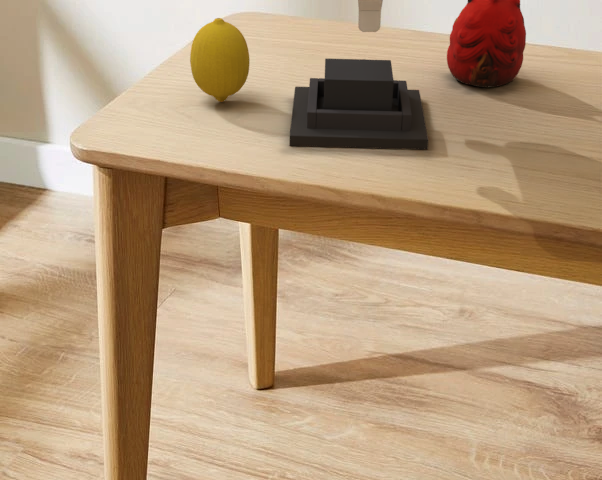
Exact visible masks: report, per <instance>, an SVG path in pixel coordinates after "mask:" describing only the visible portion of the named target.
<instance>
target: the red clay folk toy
mask: <svg viewBox="0 0 602 480" xmlns="http://www.w3.org/2000/svg"><path fill="white" fill-rule="evenodd" d="M526 41H527V30H526V26H525V18H524V15H523V12H522V9H521V0H467V3H466V5H465V6H464V7H463V8H462V9H461V11H460V13H459V14H458V16H457V17H456V18H455V19H454V22H453V24H452V30H451V31H450V34H449V45H448V47H447V51H446V63H447V67H448V68H447V69H448V70H449V72H450V74H451V75H452V76H453V77H454V78H455V79H456V80H457V81H459V82H461V83H462V84H466V85H469V86H473V87H480V88H490V87H491V88H498V87H501V86H505V85H507V84H509V83H513V82H514V80H515V79H516V77H517V76H518V74H519V73H520V70H521V68H522V67H523V63H524V52H525V48H526V45H527V42H526Z"/></svg>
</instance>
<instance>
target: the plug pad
mask: <svg viewBox="0 0 602 480" xmlns="http://www.w3.org/2000/svg"><path fill="white" fill-rule="evenodd" d="M324 78H325V82H324V110H360V111H392V98H393V84H394V80H395V79H394V74H393V65H392V60H390V59H366V58H365V59H360V58H324Z"/></svg>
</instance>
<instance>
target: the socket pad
mask: <svg viewBox="0 0 602 480" xmlns="http://www.w3.org/2000/svg"><path fill="white" fill-rule="evenodd" d="M393 80H394V84H393V98H392V111H360V110H324V82H325V77H323V78H322V77H319V78H318V77H310V78H309V85H308V86H295V87H294V92H293V93H294V94H293V102H292V103H293V104H292V112H291V118H290V119H291V120H290V129H289V146H290V147H317V148H319V147H320V148H321V147H322V148H351V149H353V148H354V149H357V148H358V149H385V150H386V149H390V150H423V151H424V150H425V151H427V150H428V148H429V135H428V131H427V130H428V129H427V125H426V119H425V113H424V108H423V103H422V98H421V93H420V92H421V91H420V89H409V88H408V82H407V80H399V79H396V80H395V79H393Z"/></svg>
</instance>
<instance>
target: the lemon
mask: <svg viewBox="0 0 602 480" xmlns="http://www.w3.org/2000/svg"><path fill="white" fill-rule="evenodd" d="M190 48H191V49H190V55H189V56H190V57H189V62H190V71H191V75H192V78H193V80H194V83H195V84H196V85H197V86H198V88H199V89H200V90H201V91H202V92H203V93H205V94H206V95H208V96H211V97H213V98H214V99H215V100H216V101H217V102H219V103H223V102H225V101H226V100H227V99H228V98H229V97H230V96H232V95H235V94H236V93H238V92H239V91H240V90H241V89H242V88H243V86H244V85H245V84H246V82H247V79H248V76H249V71H250V61H251V60H250V52H249V46H248V44H247V40H246V38H245V36H244V34H243V33H242V32H241V31H240V29H239V28H238V27H237V26H236V25H233V24H232V23H230V22H228V21H225V20H224V19H223V18H221V17H216V18H214V20H213V21H211V22H207V23H206V24H205V25H203V26H201V28H200V29H198V31H197V32H196V33H195V36H194V38H193V40H192V43H191V47H190Z"/></svg>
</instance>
